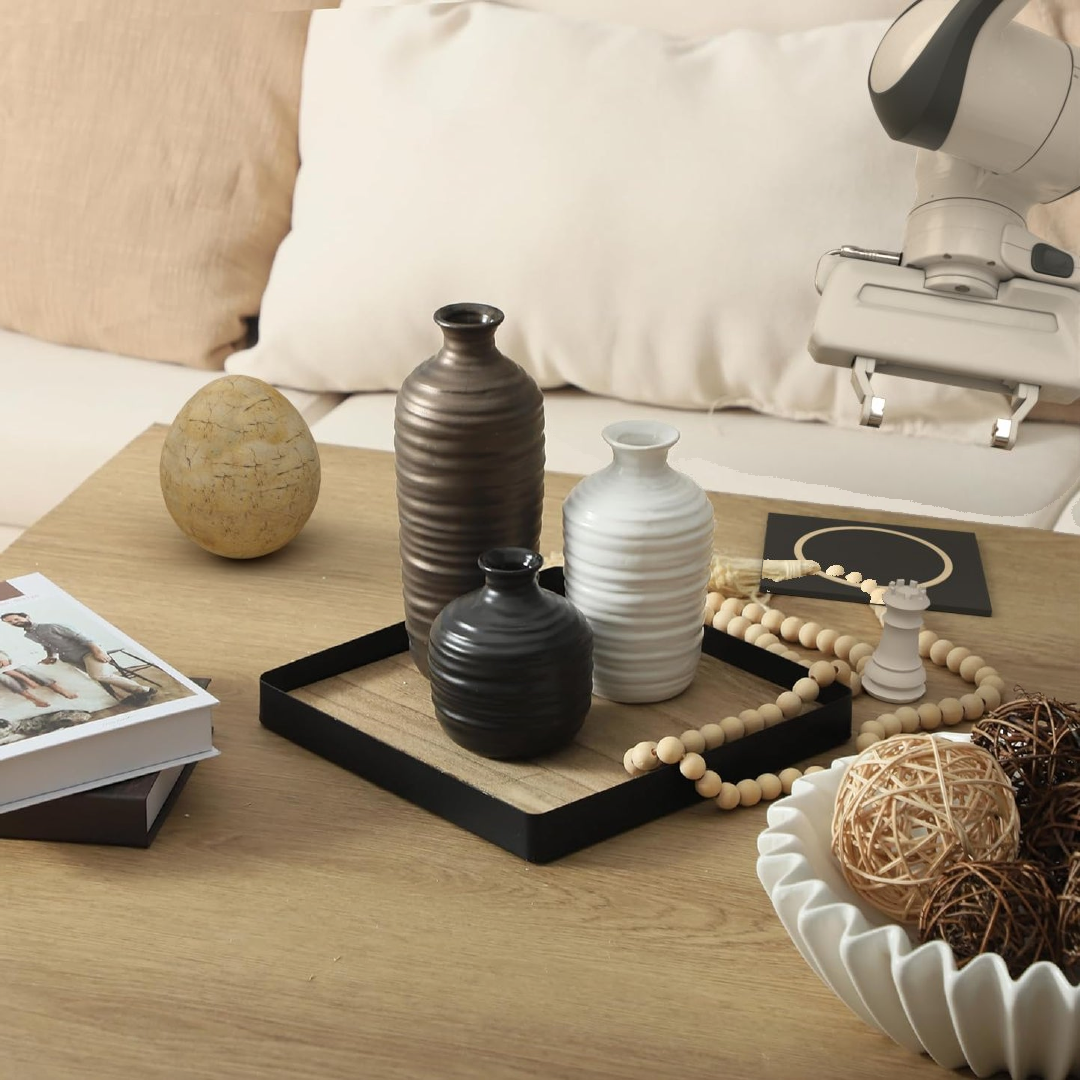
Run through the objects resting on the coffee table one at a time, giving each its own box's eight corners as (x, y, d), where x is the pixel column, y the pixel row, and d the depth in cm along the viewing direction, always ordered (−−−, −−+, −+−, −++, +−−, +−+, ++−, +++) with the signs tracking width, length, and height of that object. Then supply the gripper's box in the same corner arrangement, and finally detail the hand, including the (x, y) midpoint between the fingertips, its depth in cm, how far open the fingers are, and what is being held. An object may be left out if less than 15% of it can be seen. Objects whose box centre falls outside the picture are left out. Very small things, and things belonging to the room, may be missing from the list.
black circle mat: (974, 538, 129) (975, 531, 129) (991, 617, 115) (992, 608, 115) (767, 518, 132) (768, 510, 132) (759, 592, 118) (759, 583, 117)
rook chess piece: (883, 668, 106) (897, 567, 103) (937, 691, 103) (953, 588, 100) (847, 688, 103) (861, 585, 100) (902, 712, 100) (918, 607, 97)
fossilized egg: (242, 511, 130) (233, 345, 124) (354, 546, 123) (351, 373, 117) (132, 558, 120) (117, 380, 114) (248, 598, 113) (239, 412, 107)
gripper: (826, 221, 108) (796, 394, 104) (1112, 265, 105) (1091, 444, 102) (816, 260, 114) (787, 426, 110) (1085, 303, 112) (1065, 474, 108)
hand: (936, 435), depth 106 cm, fingers open, 8 cm apart
